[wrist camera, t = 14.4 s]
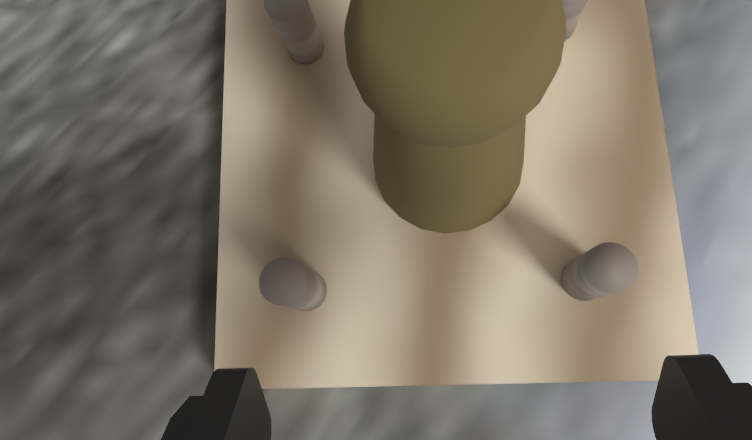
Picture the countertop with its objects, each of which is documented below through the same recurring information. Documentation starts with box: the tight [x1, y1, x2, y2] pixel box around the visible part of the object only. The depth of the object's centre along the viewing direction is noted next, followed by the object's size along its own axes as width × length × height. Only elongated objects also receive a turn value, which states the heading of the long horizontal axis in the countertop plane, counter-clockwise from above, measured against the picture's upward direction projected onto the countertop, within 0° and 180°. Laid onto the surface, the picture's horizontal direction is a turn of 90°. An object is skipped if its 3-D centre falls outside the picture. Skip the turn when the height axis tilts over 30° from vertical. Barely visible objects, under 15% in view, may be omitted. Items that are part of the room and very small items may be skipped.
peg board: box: [214, 0, 699, 389], centre depth 22 cm, size 18×18×6 cm
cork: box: [344, 0, 566, 234], centre depth 17 cm, size 6×6×11 cm
